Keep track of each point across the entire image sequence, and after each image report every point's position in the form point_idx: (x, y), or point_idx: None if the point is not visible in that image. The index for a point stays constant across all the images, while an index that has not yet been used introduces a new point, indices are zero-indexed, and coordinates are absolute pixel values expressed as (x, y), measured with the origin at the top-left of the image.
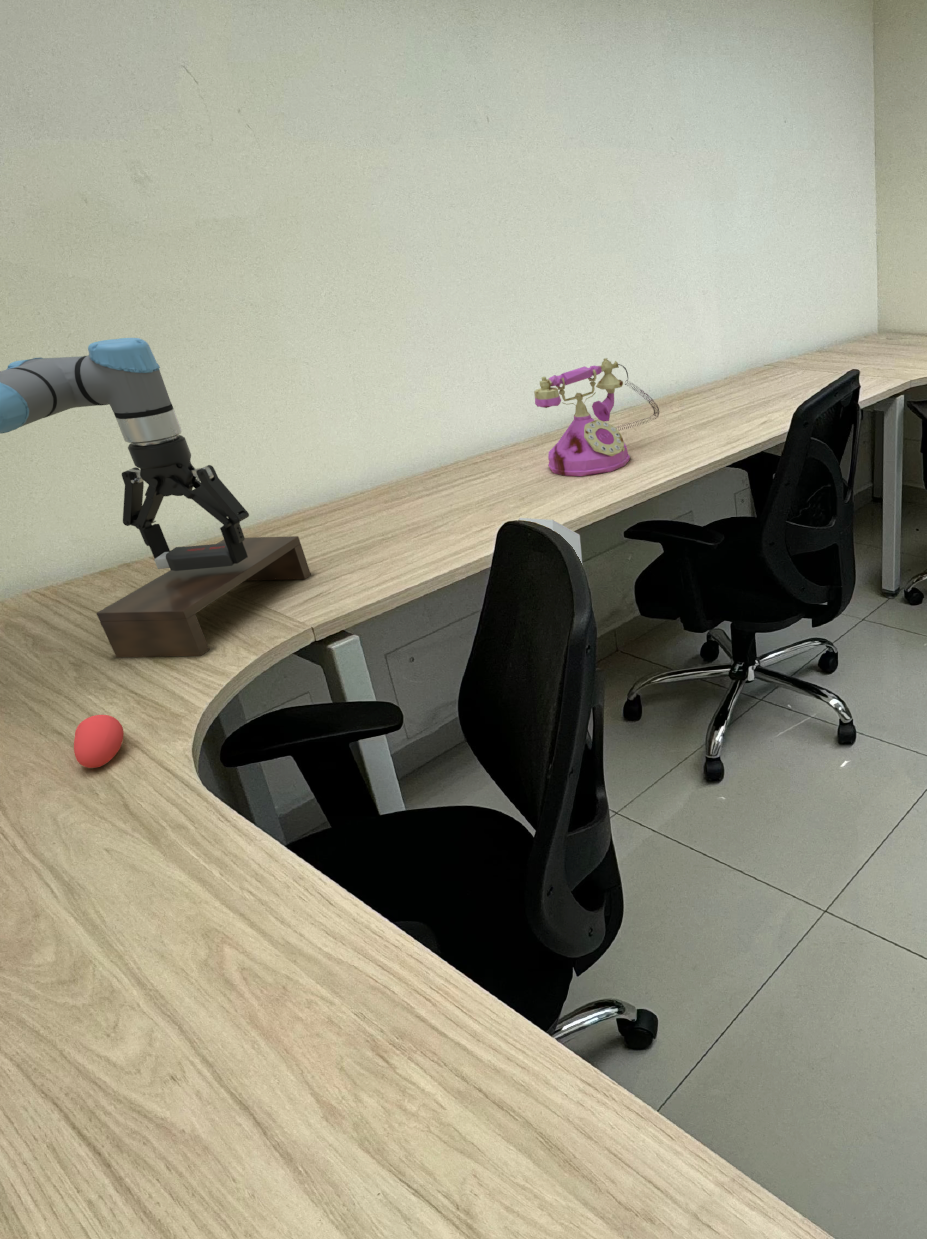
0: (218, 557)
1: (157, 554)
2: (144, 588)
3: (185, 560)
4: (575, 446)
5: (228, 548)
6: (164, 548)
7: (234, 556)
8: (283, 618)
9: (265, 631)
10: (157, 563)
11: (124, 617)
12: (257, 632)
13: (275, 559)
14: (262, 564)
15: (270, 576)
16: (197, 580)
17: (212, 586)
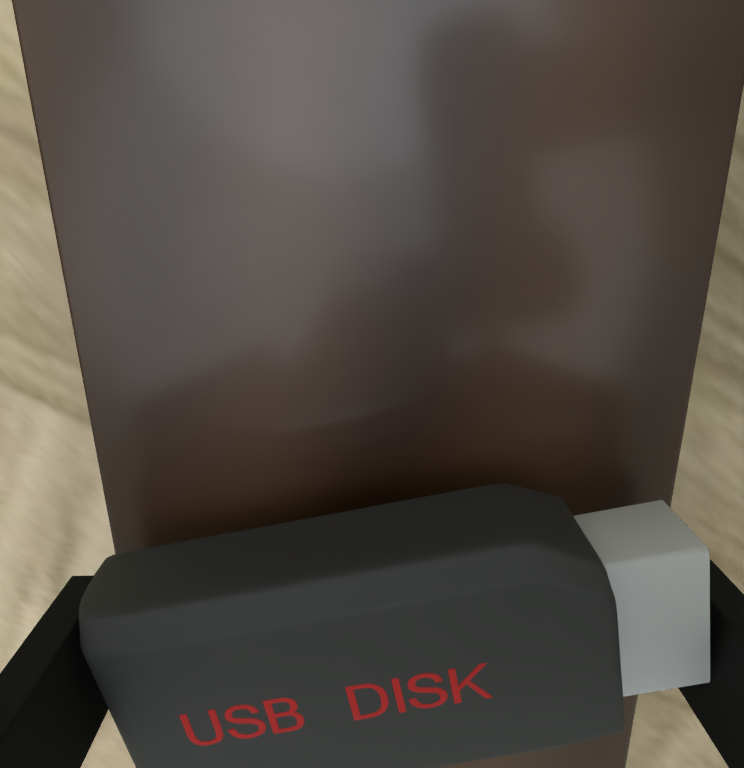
0: (152, 593)
1: (731, 628)
2: (656, 314)
3: (417, 546)
4: None
5: (33, 679)
6: (726, 716)
7: (47, 619)
8: (39, 379)
9: (19, 254)
10: (672, 527)
11: None
12: (52, 245)
13: None
14: None
15: None
16: (340, 431)
17: (139, 333)
